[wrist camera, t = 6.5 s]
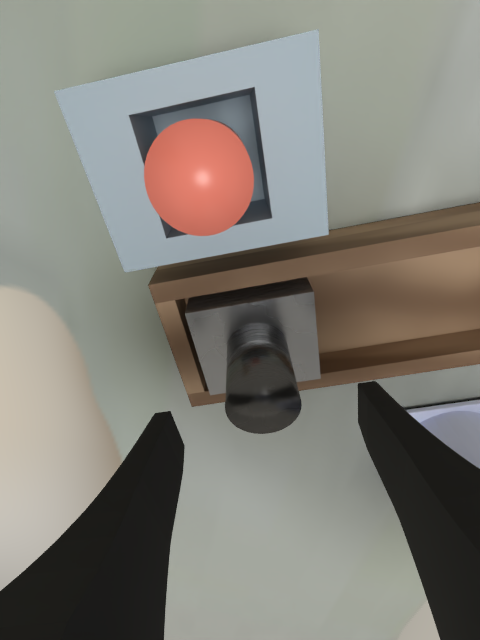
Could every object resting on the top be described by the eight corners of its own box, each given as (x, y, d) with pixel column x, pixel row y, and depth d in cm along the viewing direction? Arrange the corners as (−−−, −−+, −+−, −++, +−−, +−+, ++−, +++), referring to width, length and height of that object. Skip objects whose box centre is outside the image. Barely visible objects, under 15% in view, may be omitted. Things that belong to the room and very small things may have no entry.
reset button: (254, 198, 13) (261, 226, 10) (181, 213, 13) (162, 244, 10) (240, 110, 12) (243, 106, 8) (158, 129, 12) (127, 132, 9)
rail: (494, 326, 21) (531, 356, 18) (196, 373, 22) (191, 406, 20) (526, 193, 17) (580, 206, 14) (160, 261, 18) (148, 285, 16)
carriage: (311, 351, 20) (341, 440, 14) (212, 367, 20) (204, 459, 15) (304, 271, 17) (337, 342, 12) (190, 291, 18) (170, 368, 12)
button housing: (304, 205, 17) (328, 234, 13) (151, 235, 17) (124, 272, 13) (292, 57, 14) (318, 29, 9) (107, 100, 14) (54, 91, 10)
